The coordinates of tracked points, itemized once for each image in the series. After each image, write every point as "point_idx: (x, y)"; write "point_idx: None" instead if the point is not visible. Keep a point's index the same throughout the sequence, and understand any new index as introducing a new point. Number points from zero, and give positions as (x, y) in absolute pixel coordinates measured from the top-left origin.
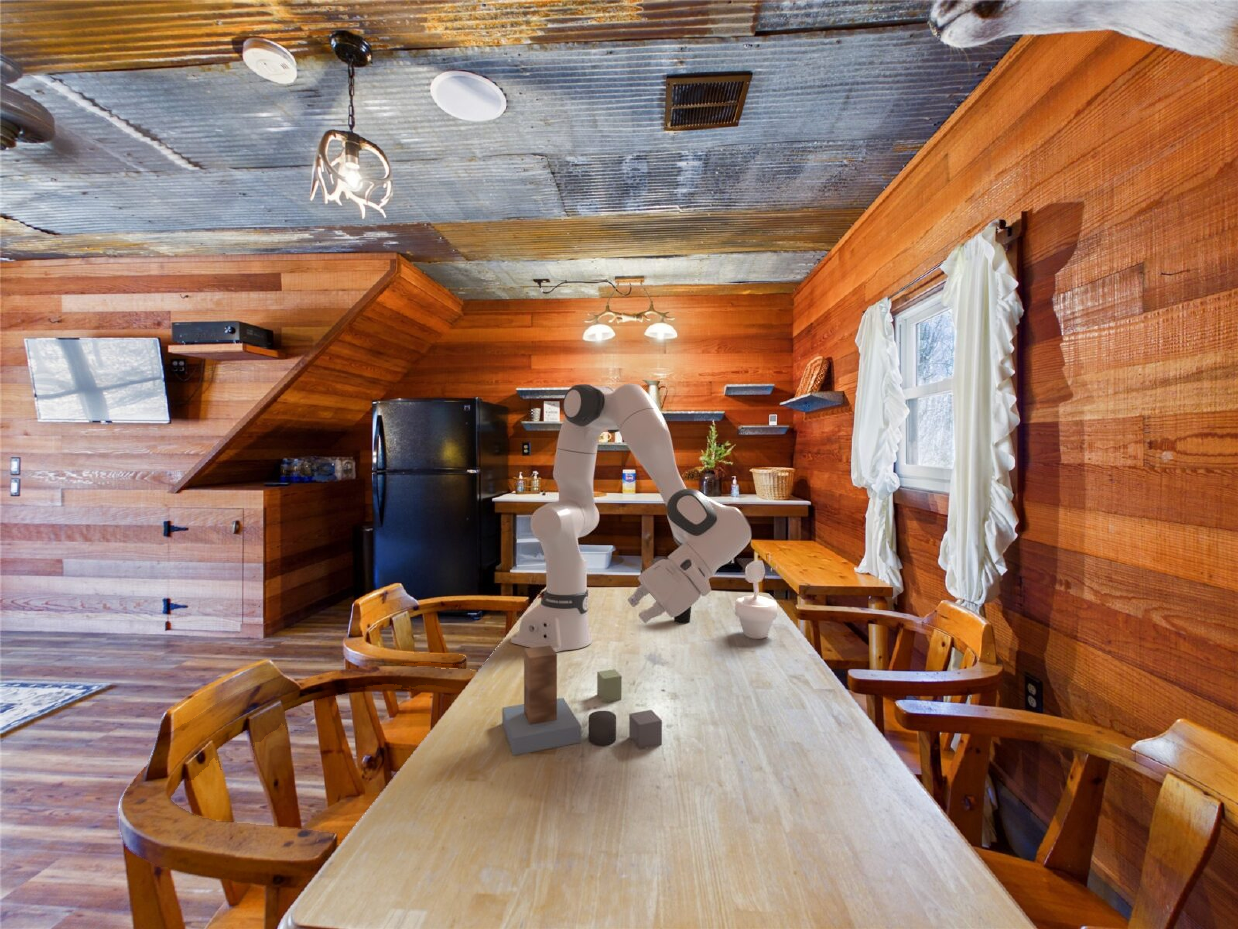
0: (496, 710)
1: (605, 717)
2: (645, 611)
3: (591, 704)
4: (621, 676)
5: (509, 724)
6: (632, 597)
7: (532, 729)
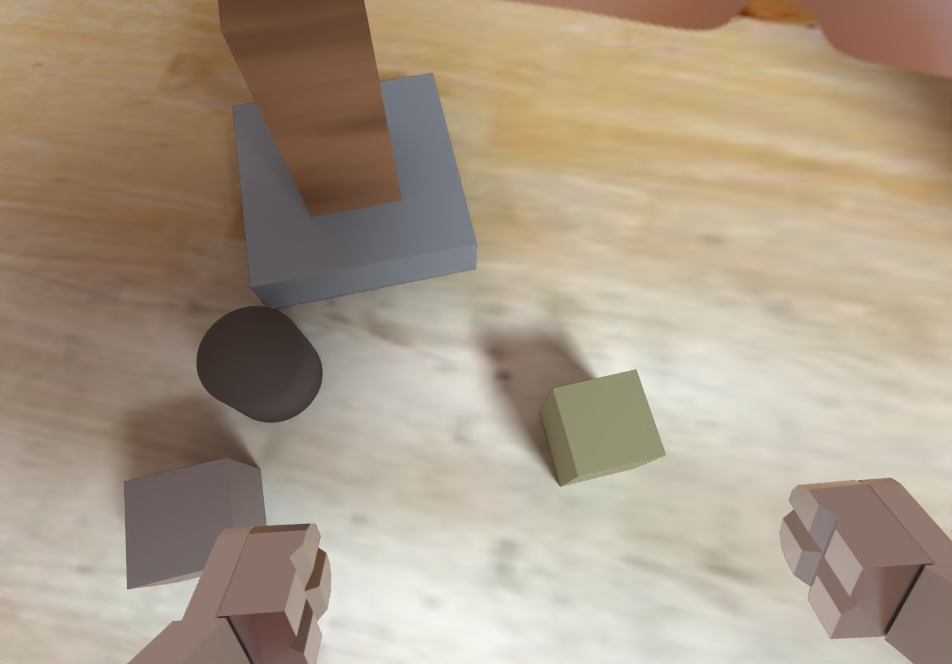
0: (519, 91)
1: (241, 364)
2: (202, 603)
3: (530, 365)
4: (579, 476)
5: None
6: (867, 531)
7: (267, 150)
